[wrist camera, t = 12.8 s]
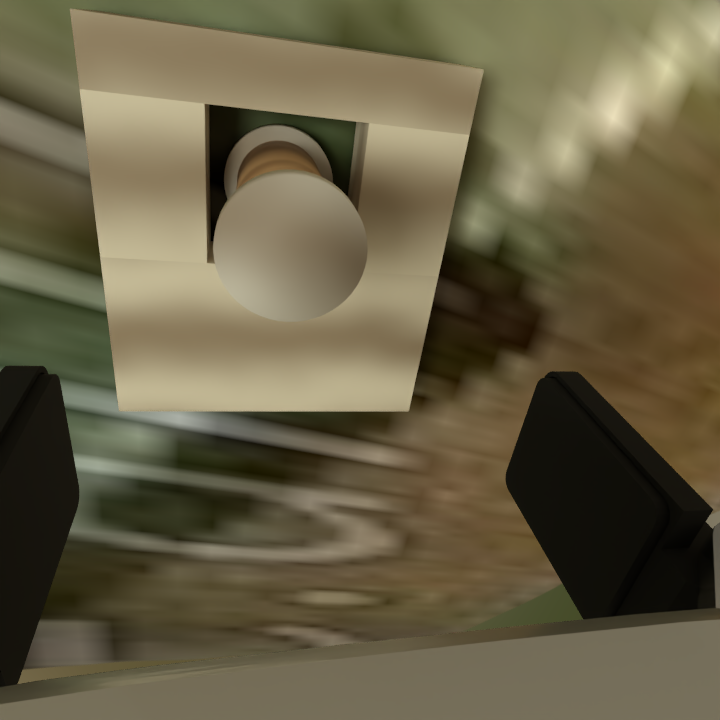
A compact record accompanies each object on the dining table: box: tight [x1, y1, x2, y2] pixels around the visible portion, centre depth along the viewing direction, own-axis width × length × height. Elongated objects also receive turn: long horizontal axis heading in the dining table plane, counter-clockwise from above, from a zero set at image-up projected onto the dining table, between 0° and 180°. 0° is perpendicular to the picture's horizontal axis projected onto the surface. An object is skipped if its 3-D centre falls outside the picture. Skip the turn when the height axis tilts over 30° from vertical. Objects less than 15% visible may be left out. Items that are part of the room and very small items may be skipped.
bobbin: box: [213, 124, 368, 322], centre depth 22 cm, size 5×5×10 cm
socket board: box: [70, 9, 484, 411], centre depth 27 cm, size 18×16×3 cm
